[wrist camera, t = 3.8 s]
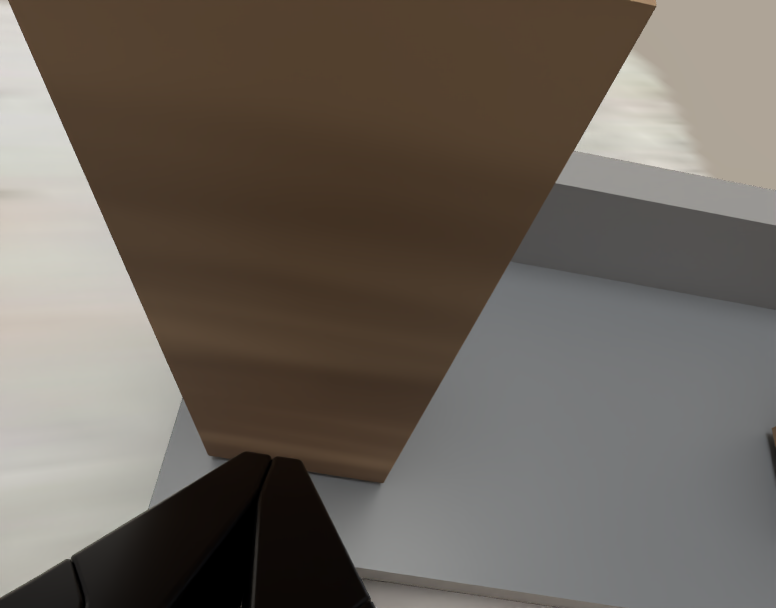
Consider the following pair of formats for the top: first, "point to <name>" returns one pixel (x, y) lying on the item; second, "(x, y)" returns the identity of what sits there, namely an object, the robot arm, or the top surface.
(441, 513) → the grey stepped base
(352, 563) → the robot arm
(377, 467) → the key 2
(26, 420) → the top surface
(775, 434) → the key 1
